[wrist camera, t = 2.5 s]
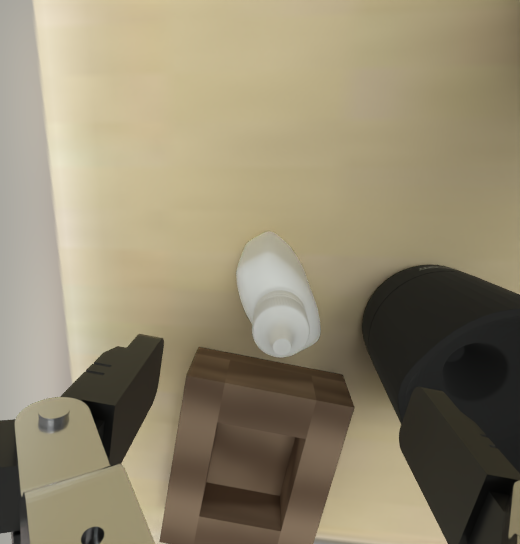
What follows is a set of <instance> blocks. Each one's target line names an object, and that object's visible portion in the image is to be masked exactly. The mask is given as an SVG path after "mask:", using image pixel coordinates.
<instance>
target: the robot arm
mask: <svg viewBox="0 0 520 544" xmlns="http://www.w3.org/2000/svg"><path fill="white" fill-rule="evenodd" d="M163 347H164V340H163V338H158V337H153V336H147V335H142V334H139V335H138V336H137V337H136V338H135V339H134V340H133V341H132V343H131V344H130V345H129V346H128V347H127V348H124V347H119V346H117V347H115V348H113V349H111V350H109V351H106V352H104V353H103V354H102V355H101V356H100V357H99V358H98V359H97V360H96V361H95V362H94V364H92V365H91V366H90V367H89V368H88V369H87V370H86V372H84V373H83V374H82V375H81V376H80V377H79V378H78V379H77V380H76V381H75V382H74V383H73V384H72V385H71V386H70V387H69V388H68V389H67V390H66V392H64V393H63V395H62V396H61V397H55V398H49V399H44V400H41V401H38V402H35V403H33V404H31V405H29V406H28V407H26V408H25V409H23V410H22V411H21V412H20V413H19V414H18V416H17V417H16V419H14V420H2V421H0V533H7V532H11V538H12V544H155V542H154V540H153V537H152V535H151V532H150V530H149V527H148V525H147V522H146V520H145V517H144V515H143V512H142V510H141V508H140V505H139V503H138V500H137V498H136V495H135V493H134V490H133V488H132V485H131V483H130V480H129V478H128V475H127V473H126V471H125V468H124V467H123V465H122V464H121V463H122V461H123V459H124V457H125V455H126V453H127V451H128V449H129V447H130V446H131V444H132V442H133V440H134V438H135V436H136V434H137V432H138V430H139V428H140V427H141V425H142V423H143V421H144V419H145V417H146V415H147V413H148V411H149V410H150V408H151V406H152V404H153V401H154V399H155V396H156V392H157V388H158V383H159V376H160V368H161V361H162V354H163ZM399 443H400V448H401V451H402V453H403V455H404V457H405V459H406V461H407V463H408V465H409V467H410V469H411V471H412V473H413V475H414V477H415V479H416V481H417V483H418V485H419V487H420V489H421V491H422V493H423V495H424V497H425V499H426V501H427V503H428V505H429V507H430V509H431V511H432V513H433V515H434V517H435V519H436V521H437V523H438V525H439V527H440V529H441V531H442V533H443V535H444V537H445V539H446V541H447V543H448V544H520V473H519V472H518V471H517V470H516V469H515V468H514V467H513V465H512V464H511V463H510V462H509V461H508V460H507V459H506V457H505V456H504V455H503V454H502V453H501V452H500V450H499V449H497V448H495V445H494V444H493V442H492V441H491V440H490V439H489V438H488V437H486V434H485V433H484V432H483V431H482V430H481V429H480V427H479V426H478V425H477V424H476V423H475V422H474V421H473V420H471V419H470V418H469V417H467V416H466V415H465V414H463V413H462V412H461V411H460V410H459V409H458V408H457V407H456V406H455V404H454V403H453V402H452V401H451V400H450V399H449V397H448V396H447V395H446V394H445V393H444V392H443V391H439V390H434V389H428V388H423V387H416V388H415V389H414V390H413V392H412V394H411V397H410V400H409V403H408V406H407V409H406V412H405V415H404V418H403V421H402V425H401V428H400V432H399Z"/></svg>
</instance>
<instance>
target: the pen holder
mask: <svg viewBox="0 0 520 544" xmlns="http://www.w3.org/2000/svg"><path fill="white" fill-rule="evenodd" d="M362 331H363V338H364V342H365V345H366V348H367V350H368V353H369V355H370V357H371V360H372V362H373V365H374V367H375V369H376V371H377V373H378V375H379V377H380V380H381V382H382V384H383V386H384V388H385V390H386V392H387V395H388V397H389V399H390V401H391V403H392V405H393V407H394V410H395V412H396V414H397V416H398V418H399V420H400V422H401V425H402V421H403V418H404V415H405V412H406V409H407V406H408V403H409V400H410V397H411V394H412V392H413V390H414V389H415V388H416V387H423V388H428V389H434V390H439V391H443V392H444V393H445V394H446V395H447V396H448V397H449V399H450V400H451V401H452V402H453V403H454V404H455V406H456V407H457V408H458V409H459V410H460V411H461V412H462V413H463V414H465V415H466V416H467V417H469V418H470V419H471V420H473V421H474V422H475V423H476V424H477V425H478V426H479V427H480V429H481V430H482V431H483V432H484V433H485V434H486V437H488V438H489V439H490V440H491V441H492V442H493V444H494V445H495V448H497V449H499V450H500V452H501V453H502V454H503V455H504V456H505V457H506V459H507V460H508V461H509V462H510V463H511V464H512V465H513V467H514V468H515V469H516V470H517V471H518V472H519V473H520V295H519V294H517V293H514V292H512V291H509V290H507V289H504V288H502V287H499V286H497V285H494V284H492V283H489V282H487V281H484V280H482V279H480V278H477V277H475V276H472V275H469V274H466V273H464V272H461V271H458V270H455V269H452V268H449V267H445V266H439V265H421V266H416V267H411V268H409V269H406V270H403V271H401V272H399V273H397V274H395V275H393V276H392V277H390V278H389V279H388V280H386V281H385V282H384V283H383V284H382V285H381V286H380V287H379V288H378V289H377V290H376V291H375V293H374V294H373V295H372V297H371V298H370V300H369V302H368V304H367V307H366V309H365V312H364V316H363V323H362Z"/></svg>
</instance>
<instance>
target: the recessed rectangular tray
mask: <svg viewBox="0 0 520 544" xmlns="http://www.w3.org/2000/svg"><path fill="white" fill-rule="evenodd" d="M353 411H354V405H353V402H352V400H351V397H350V394H349V391H348V389H347V386H346V383H345V380H344V378H343V375H340V374H335V373H330V372H325V371H320V370H315V369H309V368H304V367H299V366H294V365H289V364H284V363H278V362H273V361H268V360H263V359H258V358H252V357H247V356H242V355H237V354H232V353H227V352H221V351H216V350H211V349H206V348H201V347H199V348H198V350H197V352H196V355H195V357H194V359H193V361H192V364H191V366H190V368H189V371H188V373H187V375H186V381H185V387H184V394H183V400H182V406H181V412H180V418H179V425H178V431H177V437H176V443H175V449H174V456H173V462H172V468H171V474H170V480H169V487H168V493H167V499H166V505H165V511H164V518H163V524H162V530H161V536H160V542H163V543H168V544H313V543H314V539H315V536H316V533H317V529H318V526H319V523H320V519H321V516H322V513H323V510H324V506H325V503H326V500H327V496H328V493H329V490H330V487H331V483H332V480H333V477H334V473H335V470H336V467H337V463H338V460H339V457H340V454H341V450H342V447H343V444H344V440H345V437H346V434H347V431H348V427H349V424H350V421H351V417H352V414H353Z"/></svg>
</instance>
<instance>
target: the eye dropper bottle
mask: <svg viewBox="0 0 520 544" xmlns="http://www.w3.org/2000/svg"><path fill="white" fill-rule="evenodd" d="M236 278H237V287H238V292H239V296H240V300H241V303H242V305H243V308H244V310H245V312H246V315H247V317H248V318H249V320H250V322H251V323H252V335H253V338H254V341H255V343H256V345H257V346H258V348H260V350H262V351H263V352H264V353H267V354H268V355H270V356H272V357H273V356H274V357H278V358H279V357H281V358H282V357H288V356H291V355H293V354H296V353H298V352H300V351H302V350H304V349H306V348H308V347H309V346H311V345H313V344H315V343H316V342H317V341H318V339H319V337H320V332H321V327H320V318H319V313H318V308H317V305H316V302H315V299H314V296H313V293H312V291H311V288H310V285H309V282H308V279H307V277H306V274H305V271H304V269H303V266H302V264H301V262H300V260H299V258H298V257H297V255H296V254H295V252H294V251H293V249H292V248H291V247H290V246H289V245H288V244H287V243H286V242H285V241H284V240H283V239H282V238H281V237H280V236H278V235H277V234H275V233H274V232H271V231H267V232H264V233H262V234H260V235H258V236H257V237H255V238H253V239H251V240H250V241H248V242H247V244H246V245H245V247H244V250H243V252H242V255H241V257H240V260H239V263H238V267H237V271H236Z"/></svg>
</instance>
